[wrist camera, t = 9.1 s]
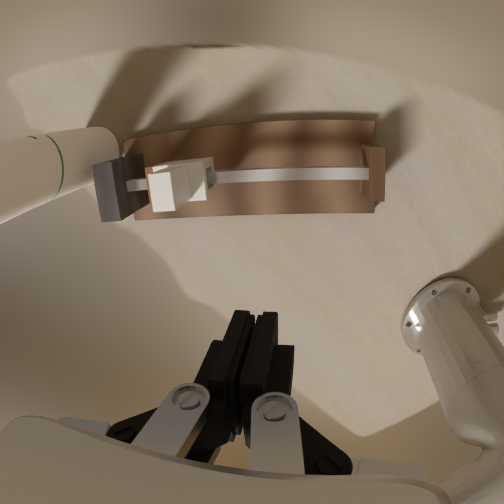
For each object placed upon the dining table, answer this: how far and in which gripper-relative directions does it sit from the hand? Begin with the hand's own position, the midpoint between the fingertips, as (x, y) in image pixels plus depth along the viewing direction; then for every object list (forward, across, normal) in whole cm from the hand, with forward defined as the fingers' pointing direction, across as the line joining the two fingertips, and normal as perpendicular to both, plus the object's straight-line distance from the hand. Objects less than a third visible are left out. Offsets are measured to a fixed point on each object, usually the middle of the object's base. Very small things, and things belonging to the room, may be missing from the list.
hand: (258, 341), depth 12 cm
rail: (+24, +5, -4) cm, 25 cm away
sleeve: (+20, +10, -4) cm, 23 cm away
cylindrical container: (+23, +24, -8) cm, 34 cm away
